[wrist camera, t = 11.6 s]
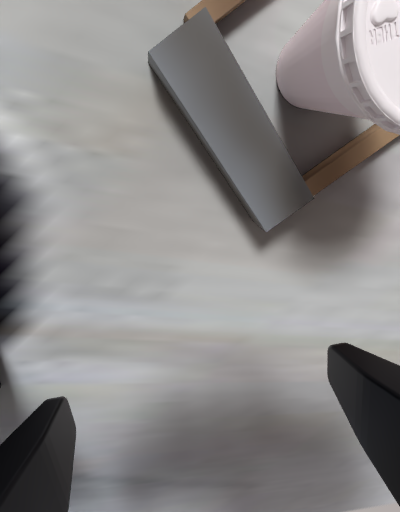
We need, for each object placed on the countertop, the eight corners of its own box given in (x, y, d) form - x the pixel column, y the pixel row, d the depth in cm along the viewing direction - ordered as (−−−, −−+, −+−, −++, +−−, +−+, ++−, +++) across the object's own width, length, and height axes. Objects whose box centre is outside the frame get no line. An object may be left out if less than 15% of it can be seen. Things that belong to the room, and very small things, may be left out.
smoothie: (328, -33, 17) (916, -574, 4) (387, 81, 19) (896, -27, 6) (226, 59, 18) (444, -145, 5) (294, 159, 20) (575, 211, 7)
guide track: (257, 227, 21) (271, 239, 19) (141, 52, 17) (140, 40, 15) (533, 31, 19) (586, 17, 17) (474, -210, 16) (532, -269, 13)
